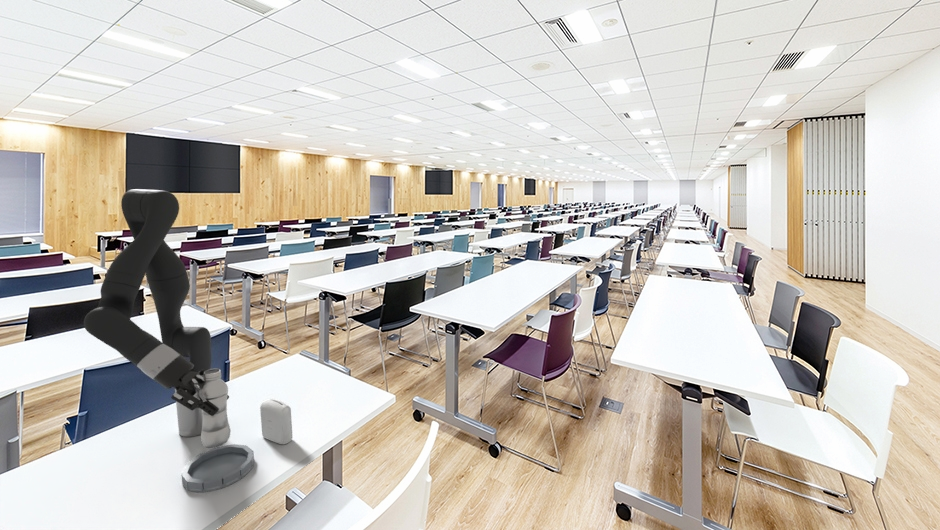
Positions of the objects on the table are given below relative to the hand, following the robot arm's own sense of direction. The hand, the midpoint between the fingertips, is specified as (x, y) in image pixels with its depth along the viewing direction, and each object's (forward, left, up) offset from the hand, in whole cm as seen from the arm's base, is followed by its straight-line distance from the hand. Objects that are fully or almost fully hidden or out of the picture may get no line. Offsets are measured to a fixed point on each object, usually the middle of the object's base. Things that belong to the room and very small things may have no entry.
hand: (221, 406), depth 101 cm
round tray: (0, -1, -18) cm, 18 cm away
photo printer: (-16, +5, -19) cm, 24 cm away
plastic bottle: (+1, -2, -11) cm, 11 cm away
